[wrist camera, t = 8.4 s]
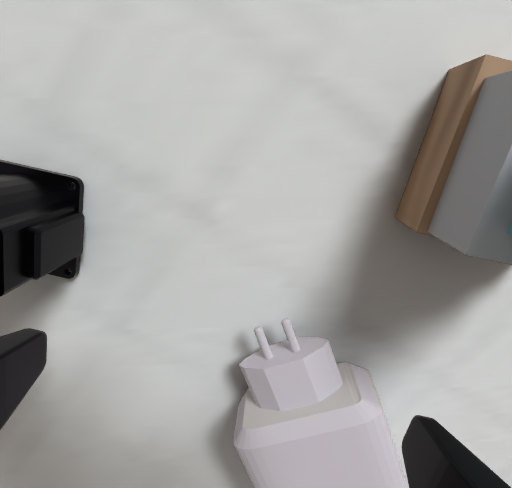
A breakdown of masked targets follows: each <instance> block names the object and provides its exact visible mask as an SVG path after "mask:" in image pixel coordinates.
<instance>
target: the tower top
mask: <svg viewBox="0 0 512 488" xmlns="http://www.w3.org/2000/svg"><path fill="white" fill-rule="evenodd" d="M511 222H512V70H511V71H508V72H504V73H501V74H497V75H494V76H491V77H487V78H485V79H484V82H483V85H482V87H481V90H480V93H479V95H478V98H477V101H476V103H475V106H474V109H473V111H472V114H471V117H470V119H469V122H468V125H467V127H466V130H465V133H464V135H463V138H462V141H461V143H460V146H459V149H458V151H457V154H456V157H455V159H454V162H453V165H452V167H451V170H450V173H449V175H448V178H447V181H446V183H445V186H444V189H443V191H442V194H441V197H440V199H439V202H438V205H437V207H436V210H435V213H434V215H433V218H432V221H431V223H430V226H429V229H428V231H427V232H429V233H430V234H432V235H434V236H435V237H437V238H439V239H440V240H442V241H443V242H445V243H447V244H448V245H450V246H452V247H453V248H455V249H457V250H458V251H460V252H461V253H463V254H465V255H468V256H473V257H478V258H482V259H487V260H492V261H496V262H501V263H506V264H510V265H512V235H510V234H508V233H506V232H507V230H508V228H509V226H510V224H511Z"/></svg>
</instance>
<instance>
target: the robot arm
mask: <svg viewBox="0 0 512 488" xmlns="http://www.w3.org/2000/svg"><path fill="white" fill-rule="evenodd" d="M72 182H74V183H75V185H76V188H75V189H74V188H73V187H72V185H71V184H72ZM83 192H84V185H83V182H82V180H81V179H79V178H78V177H75V176H70V175H66V174H61V173H57V172H52V171H48V170H43V169H39V168H35V167H30V166H26V165H21V164H17V163H12V162H8V161H3V160H0V296H3V295H4V294H6V293H8V292H10V291H12V290H13V289H15V288H17V287H19V286H20V285H22V284H24V283H26V282H27V281H29V280H31V279H35V280H37V279H39V278H41V277H43V276H45V275H46V274H50V275H55V276H59V277H63V278H73V277H75V276H76V275H77V274H78V273H79V263H80V254H82V251H83V234H84V215H83V213H82V210H83ZM68 268H70V269H71V271H72V273H71V272H69V271H68ZM46 356H47V335H46V333H45V332H43V331H39V330H35V329H29V328H28V329H23V330H20V331H17V332H14V333H11V334H7V335H4V336H1V337H0V430H1V428H2V427H3V426H4V424H5V423H6V422H7V420H8V419H9V417H10V416H11V415H12V413H13V412H14V410H15V409H16V407H17V406H18V405H19V403H20V402H21V400H22V399H23V398H24V396H25V395H26V393H27V392H28V391H29V389H30V388H31V386H32V385H33V383H34V382H35V381H36V379H37V378H38V376H39V375H40V374H41V372H42V371H43V369H44V367H45V364H46ZM402 453H403V458H404V463H405V468H406V473H407V478H408V484H409V488H511V487H510V486H509V485H508V484H507V483H505V482H504V481H503V480H502V479H501V478H500V477H499V476H498V475H496V474H495V473H494V472H493V471H492V470H491V469H490V468H489V467H487V466H486V465H485V464H484V463H483V462H482V461H481V460H480V459H478V458H477V457H476V456H475V455H474V454H473V453H472V452H471V451H469V450H468V449H467V448H466V447H465V446H464V445H463V444H462V443H460V442H459V441H458V440H457V439H456V438H455V437H454V436H453V435H452V434H450V433H449V432H448V431H447V430H446V429H445V428H444V427H443V426H441V425H440V424H439V423H438V422H437V421H436V420H434V419H432V418H429V417H425V416H420V415H417V416H415V417H413V419H412V421H411V423H410V425H409V427H408V430H407V432H406V434H405V436H404V438H403V441H402Z"/></svg>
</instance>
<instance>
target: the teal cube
mask: <svg viewBox="0 0 512 488" xmlns="http://www.w3.org/2000/svg"><path fill="white" fill-rule="evenodd" d="M506 233H508V234H510V235H512V222H511V224H510V226H509V228H508V230H507V232H506Z"/></svg>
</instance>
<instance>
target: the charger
mask: <svg viewBox="0 0 512 488" xmlns="http://www.w3.org/2000/svg"><path fill="white" fill-rule="evenodd" d="M281 323H282V326H283V329H284V331H285V334H286V337H287V339H288V340H286V341H283V342H279V343H276V344H272V345H269V344H268V341H267V339H266V336H265V334H264V331H263V329H262V327H256V328H255V329H254V332H255V335H256V337H257V340H258V342H259V345H260V347H261V349H260V350H258V351H257V352H255V353H253V354H251V355H250V356H248V357H246V358H245V359H244V360H243V361H242V362H241V363H240V364H239V366H240V369H241V371H242V373H243V375H244V378H245V380H246V382H247V385H248V387H249V389H247V391H246V393H245V394H244V396H243V398H242V399H241V401H240V403H239V405H238V412H237V419H236V426H235V432H234V439H233V443H234V446H235V448H236V451H237V453H238V455H239V457H240V459H241V461H242V463H243V465H244V467H245V469H246V472H247V474H248V476H249V478H250V480H251V482H252V484H253V486H254V488H408V487H407V484H406V480H405V477H404V474H403V471H402V468H401V464H400V461H399V458H398V455H397V452H396V448H395V445H394V442H393V439H392V436H391V432H390V429H389V426H388V423H387V419H386V416H385V413H384V410H383V407H382V404H381V402H380V399H379V397H378V394H377V391H376V389H375V386H374V384H373V381H372V379H371V376H370V374H369V372H368V371H367V370H366V369H363V368H361V367H358V366H356V365H353V364H351V363H347V362H343V363H338V364H336V361H335V358H334V355H333V352H332V349H331V346H330V344H329V341H328V340H326V339H324V338H321V337H297V338H296V335H295V333H294V330H293V327H292V325H291V322H290V320H289V319H284V320H282V322H281Z"/></svg>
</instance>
